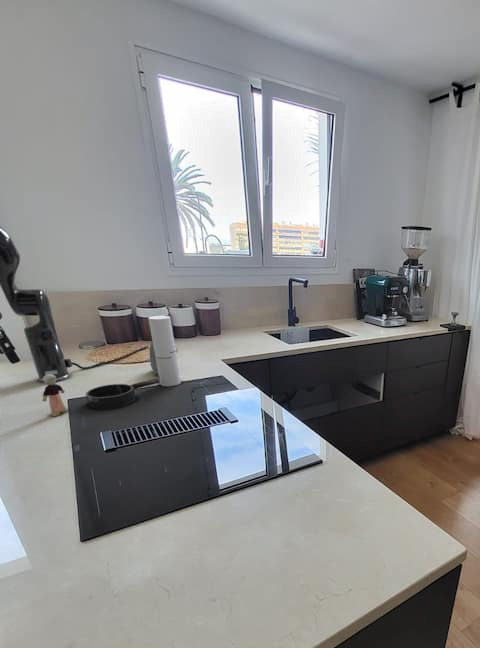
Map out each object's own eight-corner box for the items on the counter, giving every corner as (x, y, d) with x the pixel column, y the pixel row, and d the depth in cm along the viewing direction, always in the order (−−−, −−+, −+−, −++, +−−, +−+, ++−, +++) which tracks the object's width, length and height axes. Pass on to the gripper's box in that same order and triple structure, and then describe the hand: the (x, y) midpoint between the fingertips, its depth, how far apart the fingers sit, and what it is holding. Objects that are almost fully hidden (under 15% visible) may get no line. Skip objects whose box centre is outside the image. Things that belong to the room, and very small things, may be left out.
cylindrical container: (184, 382, 153) (174, 317, 143) (169, 387, 147) (157, 319, 137) (171, 379, 155) (160, 315, 145) (156, 384, 149) (143, 317, 140)
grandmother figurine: (59, 417, 120) (47, 377, 115) (45, 417, 119) (32, 377, 114) (73, 407, 127) (62, 370, 122) (61, 408, 126) (49, 370, 121)
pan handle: (131, 390, 136) (130, 385, 135) (128, 389, 137) (127, 384, 136) (161, 382, 144) (160, 378, 143) (158, 381, 145) (157, 377, 144)
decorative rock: (151, 369, 166) (144, 334, 160) (167, 367, 170) (161, 332, 164) (158, 380, 154) (151, 342, 148) (176, 377, 158) (170, 340, 152)
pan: (99, 395, 138) (96, 384, 136) (141, 393, 140) (138, 383, 138) (81, 410, 125) (78, 398, 124) (127, 408, 128) (124, 397, 126)
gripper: (2, 306, 102) (35, 360, 112) (-17, 292, 108) (15, 344, 118) (-33, 316, 97) (4, 371, 107) (-51, 301, 103) (-14, 354, 114)
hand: (10, 357), depth 113 cm, fingers open, 8 cm apart
